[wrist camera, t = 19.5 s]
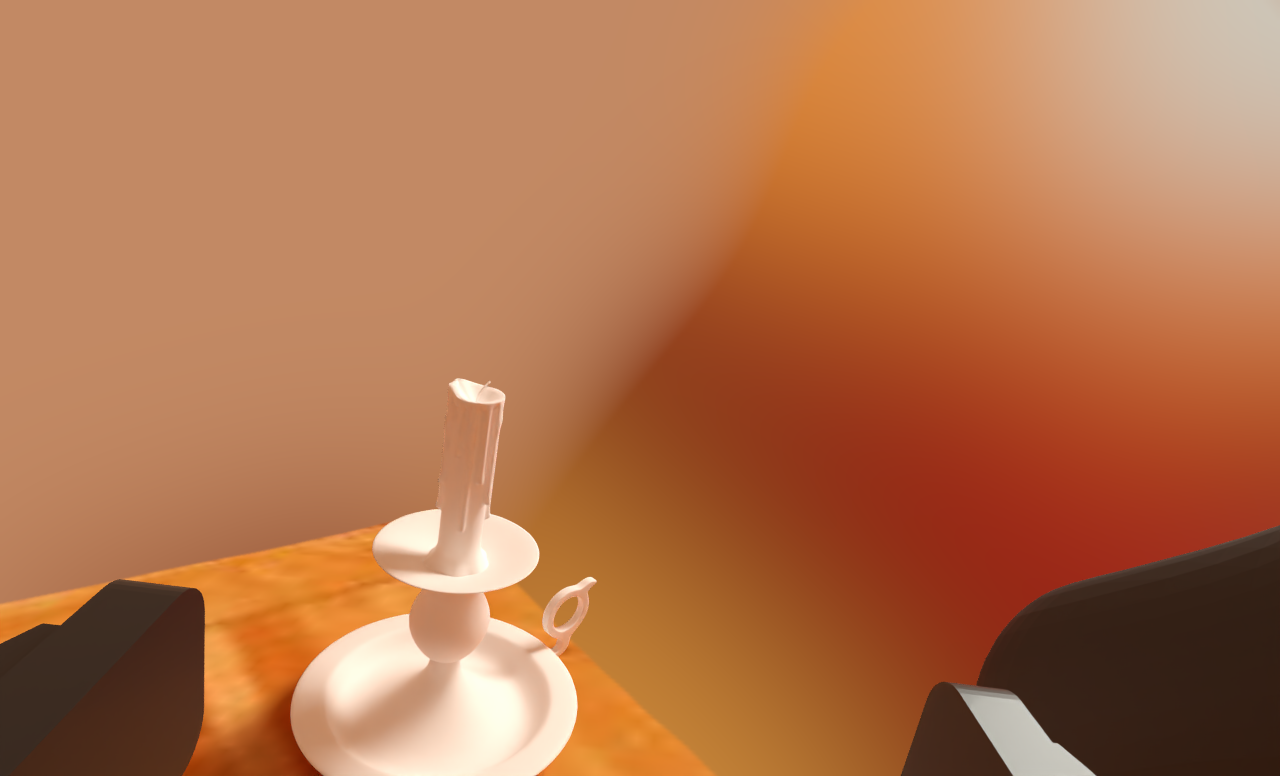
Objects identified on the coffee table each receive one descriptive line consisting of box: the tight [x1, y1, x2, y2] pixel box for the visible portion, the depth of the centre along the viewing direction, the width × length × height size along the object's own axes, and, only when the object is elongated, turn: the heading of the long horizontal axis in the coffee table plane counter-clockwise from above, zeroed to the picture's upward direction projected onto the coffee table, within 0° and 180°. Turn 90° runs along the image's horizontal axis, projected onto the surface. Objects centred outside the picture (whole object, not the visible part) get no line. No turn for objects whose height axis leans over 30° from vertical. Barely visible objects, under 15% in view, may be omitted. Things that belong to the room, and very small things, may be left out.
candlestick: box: [290, 378, 597, 776], centre depth 56 cm, size 21×25×28 cm
